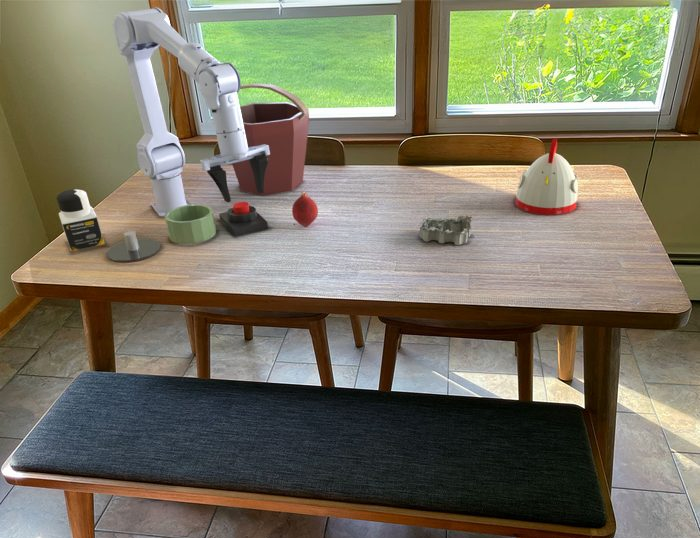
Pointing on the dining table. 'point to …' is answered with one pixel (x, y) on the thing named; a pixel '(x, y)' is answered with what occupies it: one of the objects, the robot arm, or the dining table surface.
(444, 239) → the egg carton
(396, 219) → the dining table surface
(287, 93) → the bucket
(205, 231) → the pot
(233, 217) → the button housing
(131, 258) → the lid
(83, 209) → the medicine bottle
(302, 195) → the onion
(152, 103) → the robot arm
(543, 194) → the kitchen timer
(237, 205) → the button
